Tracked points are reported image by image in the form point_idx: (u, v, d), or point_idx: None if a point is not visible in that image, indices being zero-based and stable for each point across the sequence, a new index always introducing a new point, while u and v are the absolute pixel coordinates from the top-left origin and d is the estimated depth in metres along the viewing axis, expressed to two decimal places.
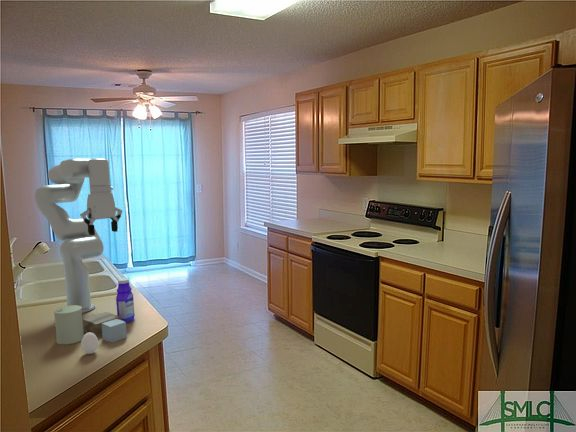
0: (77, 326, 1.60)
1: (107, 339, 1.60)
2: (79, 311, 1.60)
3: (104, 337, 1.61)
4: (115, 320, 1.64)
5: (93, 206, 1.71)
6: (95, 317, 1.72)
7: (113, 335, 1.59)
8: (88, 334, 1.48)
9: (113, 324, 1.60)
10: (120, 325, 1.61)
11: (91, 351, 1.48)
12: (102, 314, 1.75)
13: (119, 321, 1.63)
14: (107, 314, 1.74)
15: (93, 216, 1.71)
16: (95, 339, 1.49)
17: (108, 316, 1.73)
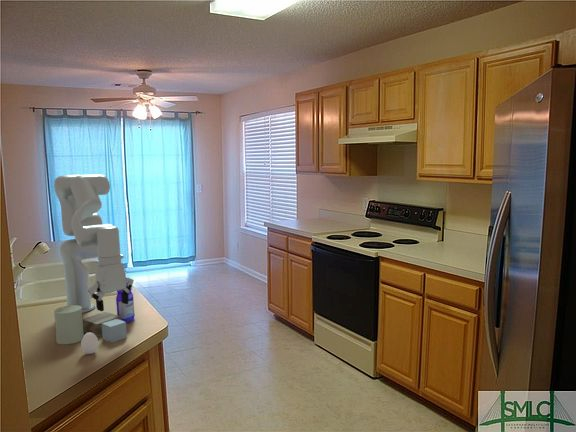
0: (77, 326, 1.60)
1: (107, 339, 1.60)
2: (79, 311, 1.60)
3: (104, 337, 1.61)
4: (115, 320, 1.64)
5: (102, 280, 1.55)
6: (94, 317, 1.72)
7: (113, 335, 1.59)
8: (88, 334, 1.48)
9: (113, 324, 1.60)
10: (120, 325, 1.61)
11: (91, 351, 1.48)
12: (102, 314, 1.75)
13: (119, 321, 1.63)
14: (106, 314, 1.74)
15: (102, 291, 1.55)
16: (95, 339, 1.49)
17: (108, 316, 1.73)
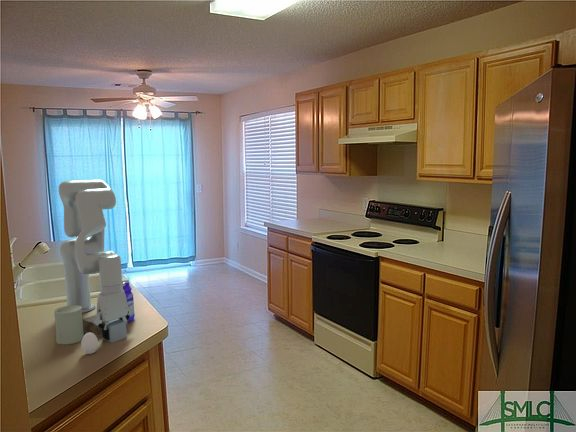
0: (77, 326, 1.60)
1: None
2: (79, 311, 1.60)
3: None
4: (115, 320, 1.64)
5: (104, 308, 1.57)
6: (94, 317, 1.71)
7: (113, 335, 1.59)
8: (88, 334, 1.48)
9: (113, 324, 1.60)
10: (120, 324, 1.61)
11: (91, 351, 1.48)
12: None
13: (119, 321, 1.63)
14: None
15: (104, 319, 1.57)
16: (95, 339, 1.49)
17: None
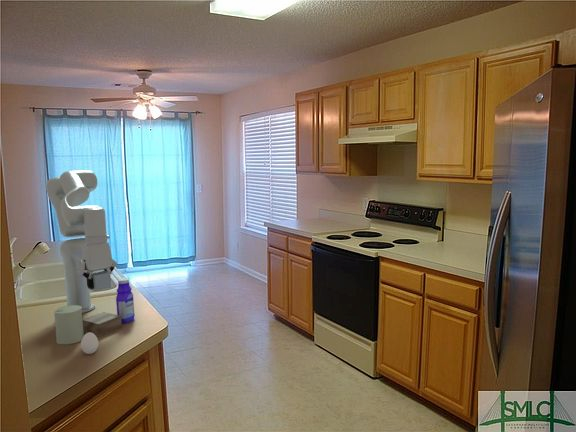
0: (77, 326, 1.60)
1: None
2: (79, 311, 1.60)
3: None
4: (100, 271, 1.71)
5: (89, 258, 1.63)
6: (94, 317, 1.71)
7: (97, 284, 1.66)
8: (88, 334, 1.48)
9: (98, 274, 1.67)
10: (104, 275, 1.68)
11: (91, 351, 1.48)
12: (101, 314, 1.75)
13: (104, 272, 1.70)
14: (106, 314, 1.74)
15: (88, 268, 1.64)
16: (95, 339, 1.49)
17: (108, 316, 1.73)
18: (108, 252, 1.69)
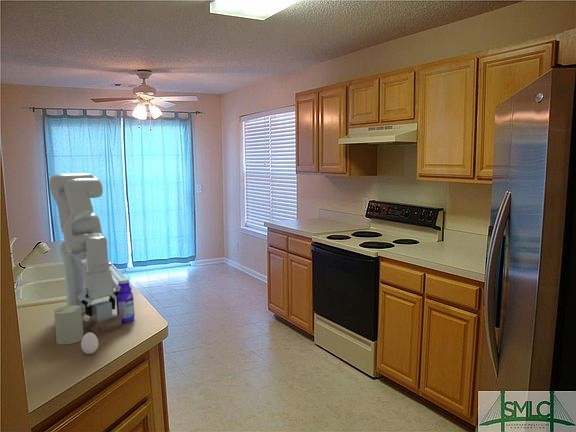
0: (77, 326, 1.60)
1: (94, 318, 1.68)
2: (79, 311, 1.60)
3: (91, 316, 1.69)
4: (101, 301, 1.72)
5: (91, 287, 1.65)
6: None
7: (99, 314, 1.67)
8: (88, 334, 1.48)
9: (99, 304, 1.68)
10: (106, 305, 1.69)
11: (91, 351, 1.48)
12: None
13: (105, 301, 1.71)
14: None
15: (90, 297, 1.65)
16: (95, 339, 1.49)
17: None
18: (110, 280, 1.71)
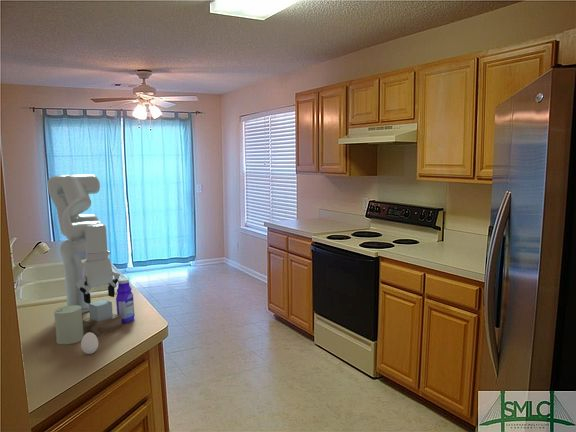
0: (77, 326, 1.60)
1: (94, 318, 1.68)
2: (79, 311, 1.60)
3: (91, 316, 1.70)
4: (102, 301, 1.73)
5: (89, 274, 1.64)
6: None
7: (99, 314, 1.67)
8: (88, 334, 1.48)
9: (99, 304, 1.68)
10: (106, 305, 1.69)
11: (91, 351, 1.48)
12: None
13: (105, 301, 1.71)
14: None
15: (89, 285, 1.65)
16: (95, 339, 1.49)
17: None
18: (109, 268, 1.70)
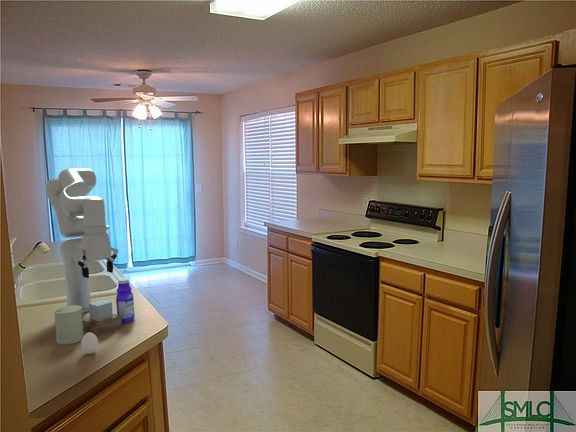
0: (77, 326, 1.60)
1: (94, 318, 1.68)
2: (79, 311, 1.60)
3: (91, 316, 1.70)
4: (102, 300, 1.73)
5: (88, 248, 1.63)
6: None
7: (99, 314, 1.67)
8: (88, 334, 1.48)
9: (100, 304, 1.69)
10: (106, 305, 1.69)
11: (91, 351, 1.48)
12: None
13: (105, 301, 1.72)
14: None
15: (87, 259, 1.64)
16: (95, 339, 1.49)
17: None
18: (107, 243, 1.69)
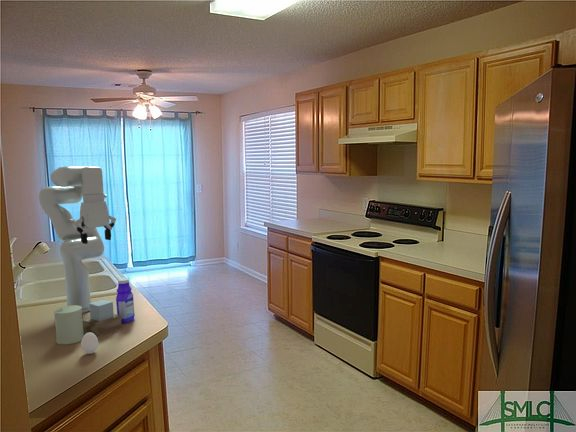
0: (77, 326, 1.60)
1: (95, 318, 1.69)
2: (79, 311, 1.60)
3: (92, 316, 1.70)
4: (102, 300, 1.73)
5: (86, 215, 1.69)
6: None
7: (101, 314, 1.67)
8: (88, 334, 1.48)
9: (101, 304, 1.69)
10: (107, 304, 1.70)
11: (91, 351, 1.48)
12: None
13: (106, 301, 1.72)
14: None
15: (86, 225, 1.69)
16: (95, 339, 1.49)
17: None
18: (105, 210, 1.75)
